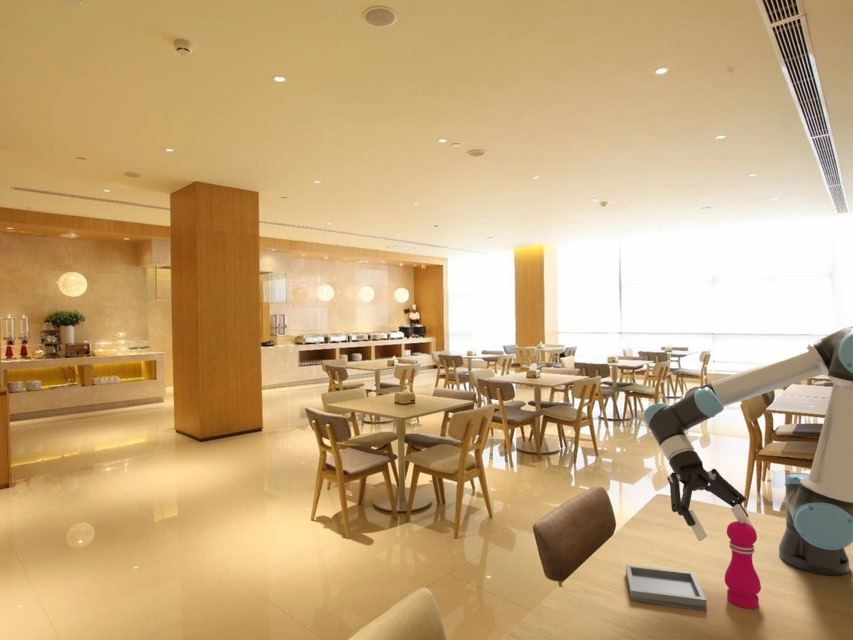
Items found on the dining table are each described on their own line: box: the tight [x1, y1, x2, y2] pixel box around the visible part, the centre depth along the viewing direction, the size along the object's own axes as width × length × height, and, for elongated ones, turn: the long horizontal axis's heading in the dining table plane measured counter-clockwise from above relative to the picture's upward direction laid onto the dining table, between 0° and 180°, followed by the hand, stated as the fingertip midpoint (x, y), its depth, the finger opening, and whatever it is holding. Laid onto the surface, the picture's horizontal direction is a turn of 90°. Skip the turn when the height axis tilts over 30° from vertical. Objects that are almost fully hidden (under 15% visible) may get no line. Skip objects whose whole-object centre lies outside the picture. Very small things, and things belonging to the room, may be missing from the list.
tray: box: [625, 564, 708, 612], centre depth 124 cm, size 16×13×2 cm
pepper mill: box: [724, 516, 762, 609], centre depth 119 cm, size 7×7×20 cm
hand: (727, 535), depth 122 cm, fingers open, 13 cm apart
